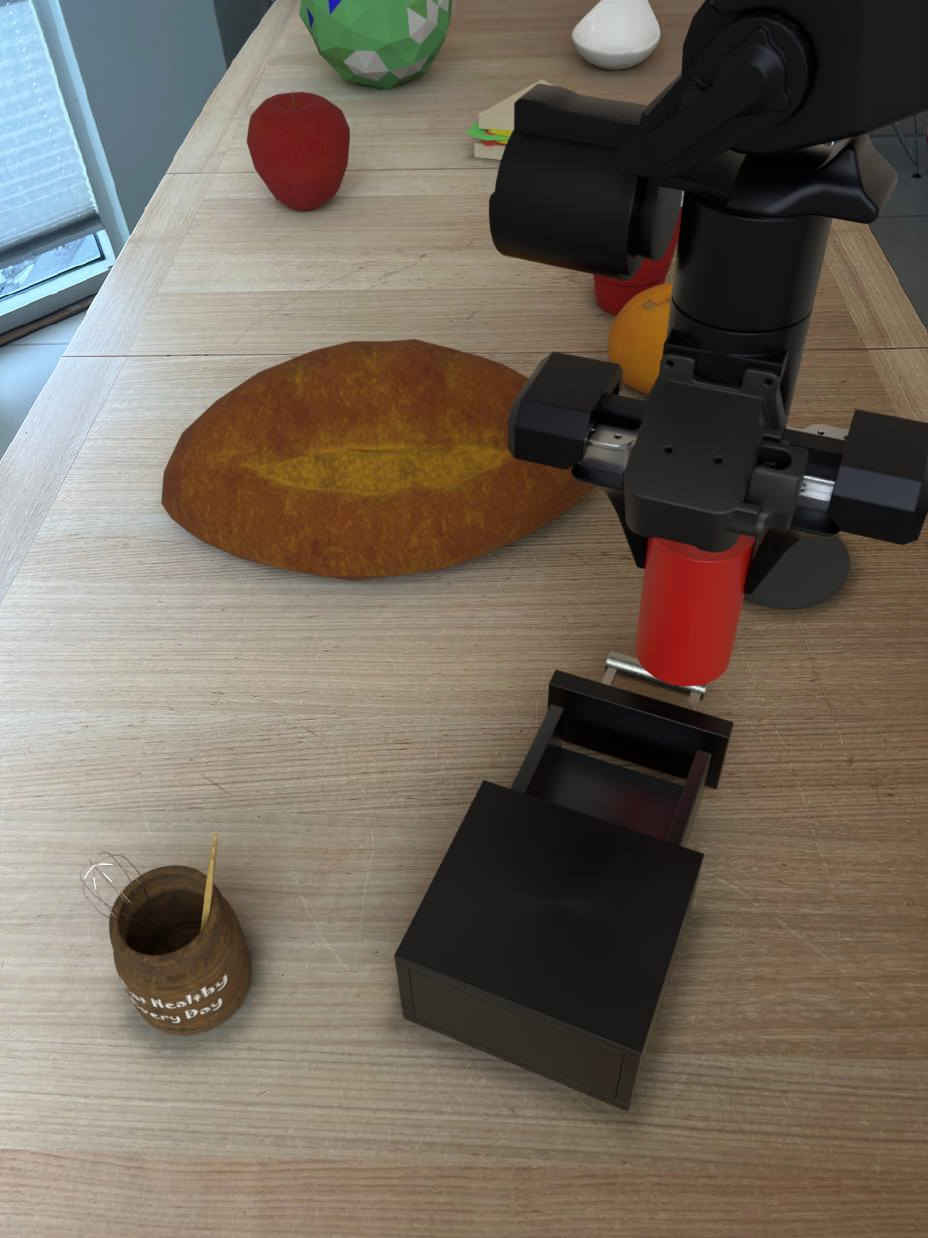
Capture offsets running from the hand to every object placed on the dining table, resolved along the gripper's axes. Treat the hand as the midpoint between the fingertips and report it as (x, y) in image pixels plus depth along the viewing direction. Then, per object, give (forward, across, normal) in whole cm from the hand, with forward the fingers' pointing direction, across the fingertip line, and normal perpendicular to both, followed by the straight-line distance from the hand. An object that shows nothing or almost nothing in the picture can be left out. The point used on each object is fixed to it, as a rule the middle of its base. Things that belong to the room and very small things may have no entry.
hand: (694, 576), depth 55 cm
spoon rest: (+13, -38, +116) cm, 123 cm away
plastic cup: (+13, -17, +49) cm, 53 cm away
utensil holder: (+13, -18, -24) cm, 33 cm away
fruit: (+13, -10, +37) cm, 40 cm away
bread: (+13, -25, +14) cm, 32 cm away
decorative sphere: (+13, -64, +94) cm, 115 cm away
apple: (+13, -56, +57) cm, 81 cm away
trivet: (+13, +3, +18) cm, 22 cm away
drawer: (+12, -1, -5) cm, 13 cm away
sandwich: (+13, -34, +78) cm, 86 cm away
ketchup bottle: (+6, 0, 0) cm, 6 cm away
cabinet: (+13, -2, -17) cm, 21 cm away
